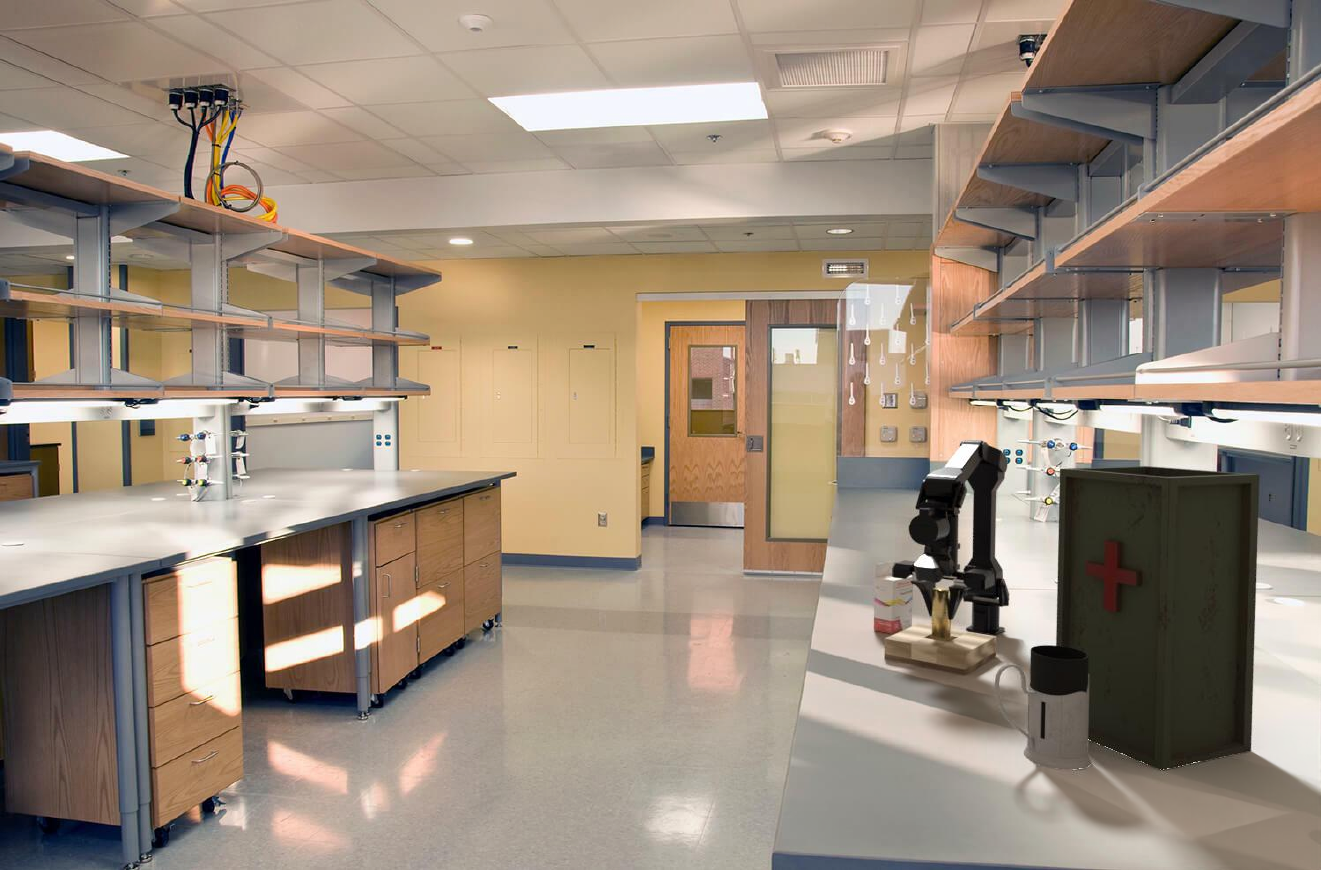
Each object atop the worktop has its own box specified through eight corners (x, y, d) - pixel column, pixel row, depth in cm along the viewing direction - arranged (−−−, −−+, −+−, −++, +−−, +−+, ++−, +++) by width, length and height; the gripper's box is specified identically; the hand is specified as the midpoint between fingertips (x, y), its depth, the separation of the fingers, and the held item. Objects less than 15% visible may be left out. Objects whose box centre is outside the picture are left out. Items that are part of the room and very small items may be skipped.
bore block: (918, 642, 189) (919, 623, 189) (995, 656, 179) (996, 636, 179) (884, 658, 177) (884, 638, 177) (965, 674, 167) (965, 653, 167)
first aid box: (1054, 726, 141) (1059, 468, 139) (1138, 710, 148) (1145, 465, 146) (1161, 770, 124) (1169, 478, 122) (1251, 751, 131) (1259, 474, 129)
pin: (935, 632, 180) (936, 587, 180) (953, 635, 178) (954, 589, 178) (928, 635, 178) (929, 590, 177) (946, 638, 175) (947, 592, 175)
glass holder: (1105, 767, 125) (1108, 659, 124) (1012, 775, 122) (1015, 664, 121) (1064, 743, 133) (1066, 642, 133) (977, 750, 130) (978, 647, 130)
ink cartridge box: (892, 634, 196) (894, 566, 195) (872, 630, 199) (873, 563, 199) (913, 627, 202) (914, 562, 201) (893, 623, 205) (894, 559, 205)
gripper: (879, 538, 177) (878, 618, 178) (974, 549, 165) (973, 634, 166) (904, 532, 186) (903, 608, 186) (996, 541, 174) (994, 622, 174)
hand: (941, 617), depth 178 cm, fingers closed on pin, 4 cm apart
